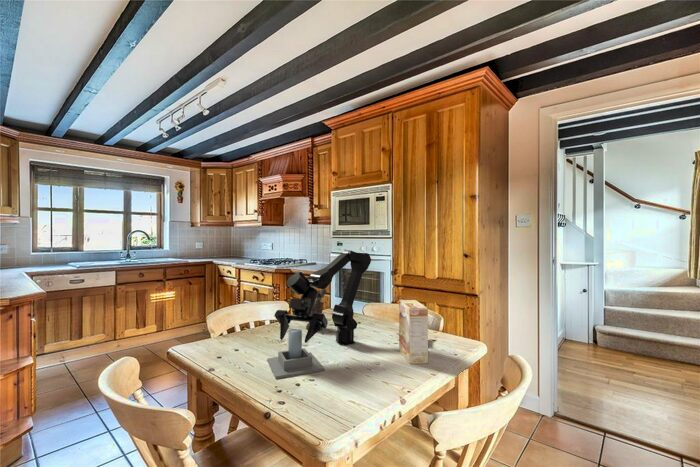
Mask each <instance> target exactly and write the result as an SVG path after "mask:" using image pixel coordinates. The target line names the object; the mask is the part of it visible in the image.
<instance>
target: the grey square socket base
mask: <svg viewBox="0 0 700 467" xmlns="http://www.w3.org/2000/svg"><path fill="white" fill-rule="evenodd" d="M266 362H267V363H268V365H269V368H270V370H271V372H272V375H273V377H274V378H275V380H277V379H278V380H279V379H284V378H289V377H296V376H302V375H307V374H312V373H313V374H314V373H319V372H325V367H324V366H323V365H322V363H320V361H319V360H318V358H316V357H315V355H314V354H313V353H312V352H309V351H308V350H307V349H306V348H305V347H303V348H302V358H296V359H289V360H288V350H281V351H278V352H277V357H276V356H275V357H269V358H267V360H266Z"/></svg>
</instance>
